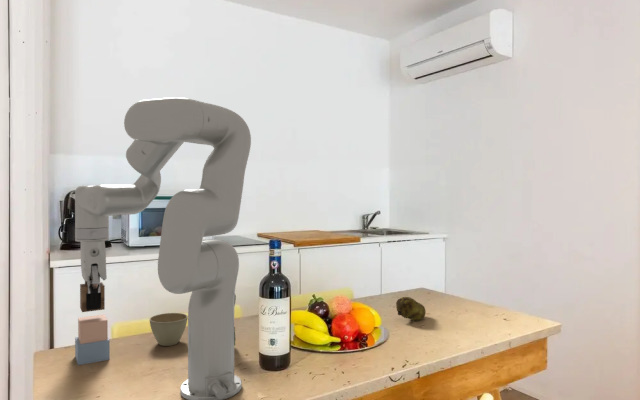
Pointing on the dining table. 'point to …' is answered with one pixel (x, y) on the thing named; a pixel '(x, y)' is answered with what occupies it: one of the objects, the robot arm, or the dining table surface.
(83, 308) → the walnut block
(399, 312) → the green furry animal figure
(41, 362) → the dining table surface
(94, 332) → the tower top
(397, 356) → the dining table surface
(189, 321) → the robot arm
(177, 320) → the olive grey bowl
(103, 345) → the tower base
